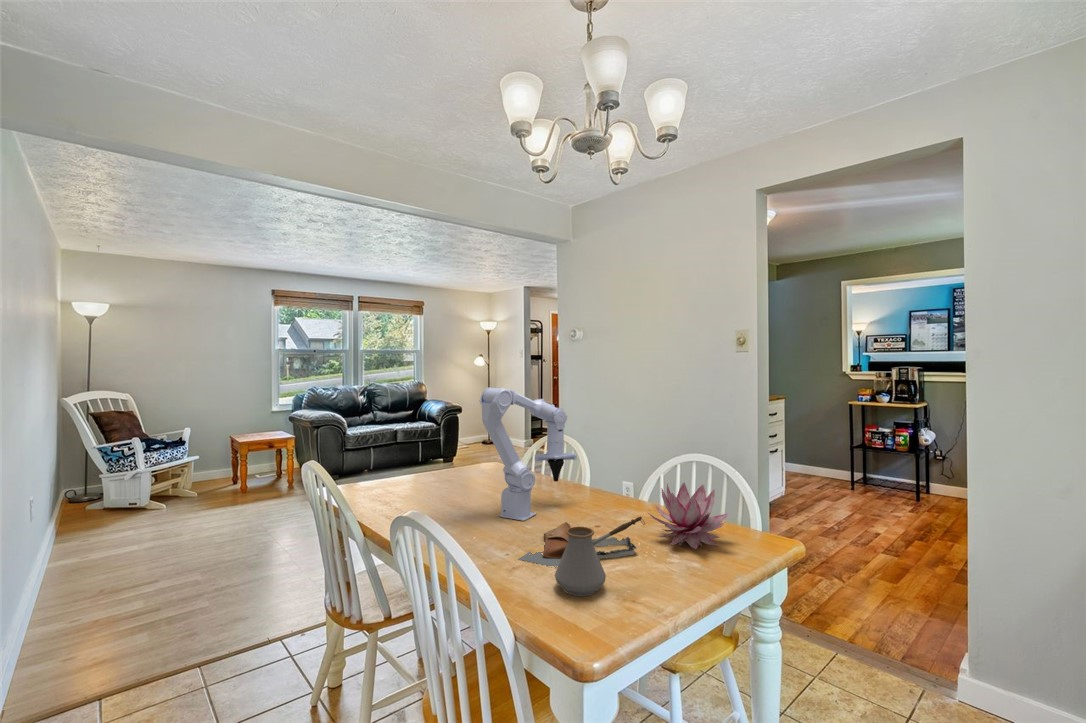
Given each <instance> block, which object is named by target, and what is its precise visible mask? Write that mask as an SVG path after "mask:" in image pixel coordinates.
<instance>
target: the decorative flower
mask: <svg viewBox="0 0 1086 723" xmlns="http://www.w3.org/2000/svg"><path fill="white" fill-rule="evenodd" d="M715 492H716V491H715V489H713V490H711V492H710V493H709V494H708V496H707V494H706V493H707V492H706V488H705V484H702V485H700V486H699V488H697V490H695V492H694V493H693V494H692V495H691V497H690V494H689V491H688V488H687V485H686V483H685V482H682V484H681V485H680V488H679V490H678V493H677V495H676V496H675V494H674V493H673V492H672V493H671V490H670V488H669V485H668V483H666V493H665V490H664V489H663V488H661V498H662V500H663V503H664V506H665V509H666V510H667V512H668V514H667V513H666V512H665V511H663V509H661V508H659V506H657V505H656V504H654V507H655V508H656V510H657V512H658V513H659V514H660V515H661V516H662V518H664V519H665V520H667V522H666V521H664V520H661V519H659V518H658V517H655V516H654V515H652V514H651V513H650V512H647V514H648V515H649V516H651V518H652V519H653V520H655V521H657V522H659V523H660V524H662V525H664V527H666V528H667V529H661V530H662V531H664V532H666V534H662V535H659V536H657V538H667V537H671V536H674V537H673V539H672V541H671V542H670V543H669V545H670V546H671V545H673V546H674V545H676V544H678V546H681V545H682V544H683V543H684V542H686V543H687V544H688V545H689V547H690V548H693V549H695V550H696V549H698V547H699V546H701V547H702V546H703V545H702V543H704V544H706V545H710V546H714V547H716V546H718V545H717V543H716V542H714V540H712V539H721V538H720V537H719V536H717V535H715V534H712V533H710V532H712V531H713V532H714V531H715V530H718V529H719V528H721V527H723V526H724V525H725V524H726V522H724V520H725V519H727V518H728V516H729V513H728V512H727V513H722V514H719V515H714V516H710V515H711V514H712V513H711V512H712V510H713V509H714V508H713V507H714V503H715ZM667 532H669V533H667Z"/></svg>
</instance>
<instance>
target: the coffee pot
mask: <svg viewBox="0 0 1086 723" xmlns="http://www.w3.org/2000/svg"><path fill="white" fill-rule="evenodd" d="M637 522H641V524H642V525H643V526H645V525H646V522H645V521H644V519H643V517H642V516H638V517H636V518H635V519H631V520H630V521H628V522H625V523H623V524H621V525H619V526H618V527H616V528H614V529H612V530H611V531H609V532H608V533H606V534H603V535H602V536H599V537H598V538H595V539H596V540H594V541H591V539H592V538H593V536H594V534H595V531H594V530H593V529H592V528H590V527H585V526H571V528H569V529H567V530H566V534H567V535H568V538H569V541H568V543H567V546H566V548H565V551H564V553H563V555H562V558H561V560H560V563H559V565H558V567H557V568H556V570H555V574H554V577H555V581H556V583H557V585H559V587H560V588H562V589H563V591H564V590H565V591H566V592H565V591H564V592H565V593H567V592H568V593H567V594H569V593H570V594H569V595H571V594H572V595H571V596H576V595H577V596H576V597H587V596H591V595H594V594H595V593H597V591H598V590H600V589H601V588H602V587H603V585H604V584H605V581H606V578H607V576H606V575H607V574H606V572H605V570H604V567H603V565H602V562H601V559H599V558H598V555H597V553H596V552H597V551H596V548H595V547H594V545H595V544H597V543H599V542H601V541H602V540H604V539H607V538H610V537H613V536H614V535H616V534H619V533H621V532H623V531H625V530H627V529H628V528H630V527H631V526H632V525H636V523H637Z"/></svg>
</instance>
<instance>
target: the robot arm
mask: <svg viewBox="0 0 1086 723" xmlns="http://www.w3.org/2000/svg"><path fill="white" fill-rule="evenodd" d="M479 403H480V405H481V421H482V424H483V425H484V427H485V430H486V432H487V434H488V435H489V438H490V440H491V442H492V444H493V445H494V447H495V449H496V452H497V453H498V455H499V457H500V459H501V462H502V463H503V465H504V467H503V468H502V472H503V473H504V481H505V483H506V485H507V486H508V487H505V488H504V489H503V490H502V492H501V496H500V497H501V498H500V499H501V500H500V505H501V508H500V510H501V512H500V515H499V517H501V518H507V519H512V520H518V521H526V520H528V519H530V518H532V517H534V516H536V515H537V513H536V512H534V511H533V512H532V498H531V496H532V490H533V487H534V486H535V484H536V476H535V474H534V472H532V471H531V470H529V469H530V468H529V467H528V466H527V465H526V464H525V463H524V462H523V461H522V460H521V459H520V457H519V454H518V453H517V450H516V448H515V446H514V444H513V442H512V440H511V438H510V436H509V434H508V433H507V430H506V428H505V425H504V424H503V422H502V418H503V416H504V415H505V414H506V412H507V410H508V409H509V408H510V406H514V405H516V406H519V407H521V408H524V409H527V410H529V412H530V415H532V416H534V417H536V418H538V419H541V420H542V421H544V422H545V423H546V425H547V426H546V429H547V430H546V431H547V432H546V433H547V434H546V436H547V439H546V441H547V442H546V443H547V444H546V445H547V447H546V448H547V451H546V453H541V454H534V461H535V462H541V461H547V463H548V465H549V468H550V471H551V474H552V479H553V482H555V483H556V482H559V479H560V474H561V470H562V468H563V466H564V463H565V461H567V460H568V461H569V460H571V461H572V460H574V461H577V454H576V453H575V452H573V453H570V452H568V453H567V452H565V451H564V450H565V446H564V444H565V442H564V440H565V438H564V437H565V436H564V435H565V434H564V433H565V431H564V430H565V426H566V423H567V420H568V415H567V413H566V411H565V409H563V408H562V407H561V408H560V407H556V406H555V404H553V403H548V402H546V400H545V399H543V398H539V399H534V400H533V399H531V398H528V397H526V396H524V395H522V394H520V393H519V392H517V391H514V390H511V389H508V388H505V387H504V388H498V387H497V388H494V387H490V386H488V387H486V388H485V389H484V390H483V391H482V393H481V396H480V397H479ZM564 452H565V453H564Z"/></svg>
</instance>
